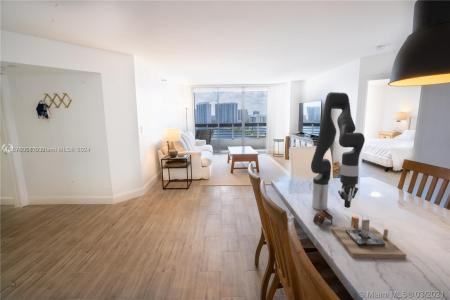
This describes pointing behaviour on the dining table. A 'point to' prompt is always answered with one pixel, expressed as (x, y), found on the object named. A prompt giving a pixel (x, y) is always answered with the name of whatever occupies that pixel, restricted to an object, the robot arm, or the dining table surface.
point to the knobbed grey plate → (356, 235)
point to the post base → (367, 251)
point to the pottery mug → (322, 217)
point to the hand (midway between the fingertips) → (347, 207)
